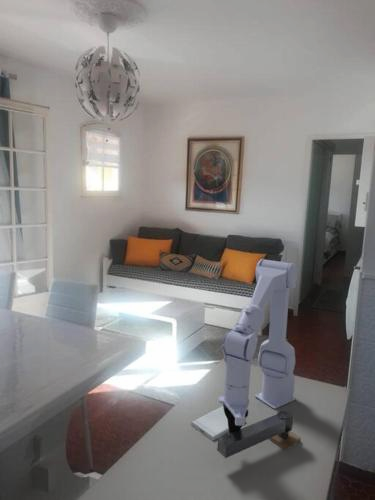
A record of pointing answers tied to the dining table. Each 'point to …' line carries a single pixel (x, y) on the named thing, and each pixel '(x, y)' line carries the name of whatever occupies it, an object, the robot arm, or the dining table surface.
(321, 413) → the dining table surface
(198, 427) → the hard drive
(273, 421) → the swing bar
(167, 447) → the dining table surface
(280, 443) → the post mount
